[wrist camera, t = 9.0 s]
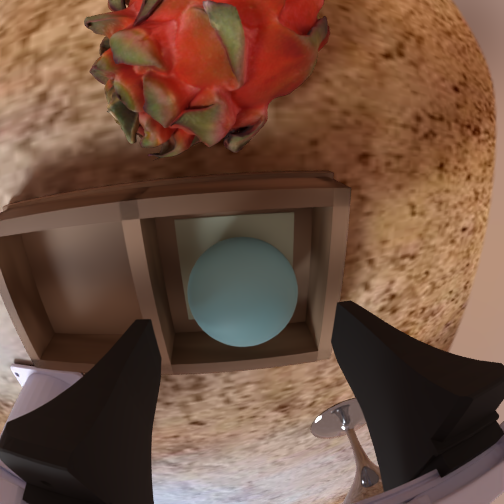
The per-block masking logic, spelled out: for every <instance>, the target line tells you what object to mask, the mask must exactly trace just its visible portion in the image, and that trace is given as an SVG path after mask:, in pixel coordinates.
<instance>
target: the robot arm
mask: <svg viewBox="0 0 504 504" xmlns="http://www.w3.org/2000/svg"><path fill="white" fill-rule="evenodd" d="M331 344H332V347H333V350H334V353H335V356H336V359H337V361H338V364H339V366H340V368H341V370H342V372H343V374H344V376H345V378H346V380H347V381H348V383H349V385H350V387H351V389H352V391H353V393H354V395H355V397H356V399H357V401H358V403H359V405H360V407H361V410H362V412H363V415H364V418H365V421H366V423H367V426H368V429H369V432H370V436H371V439H372V442H373V446H374V449H375V453H376V457H377V461H378V465H379V470H380V475H381V480H382V485H383V491H384V492H383V493H381V494H378V495H375V496H373V497H370V498H367V499H364V500H361V501H358V502H355V503H351V504H490V503H492V501H494V500H495V499H496V498H497V497H499V496H500V495H501V494H502V493H503V492H504V421H503V422H502V423H501V424H500V425H499V424H498V423H497V421H496V420H497V419H498V418H499V415H498V413H497V412H496V411H495V410H496V409H497V408H498V406H499V405H500V404H501V402H502V401H503V399H504V365H503V364H501V363H495V362H487V361H479V360H475V359H471V358H466V357H462V356H458V355H455V354H452V353H449V352H446V351H443V350H440V349H437V348H435V347H432V346H430V345H428V344H425V343H423V342H421V341H419V340H417V339H415V338H413V337H411V336H409V335H407V334H405V333H403V332H401V331H400V330H398V329H396V328H394V327H393V326H391V325H389V324H388V323H386V322H385V321H383V320H381V319H380V318H378V317H377V316H375V315H373V314H372V313H370V312H369V311H367V310H366V309H364V308H363V307H361V306H359V305H358V304H356V303H354V302H352V301H344V302H337V305H336V312H335V319H334V325H333V332H332V338H331ZM161 361H162V358H161V354H160V351H159V347H158V344H157V340H156V337H155V333H154V329H153V325H152V321H151V319H136V320H135V321H134V322H133V323H132V325H131V326H130V327H129V328H128V329H127V330H126V331H125V333H124V334H123V335H122V336H121V337H120V338H119V340H118V341H117V342H116V343H115V344H114V345H113V346H112V348H111V349H110V350H109V351H108V352H107V353H106V354H105V355H104V356H103V357H102V358H101V359H100V360H99V361H98V362H97V363H96V364H95V366H94V367H93V368H92V369H90V370H89V371H88V372H87V373H86V374H85V375H84V376H83V375H82V374H81V373H80V372H70V371H59V370H50V369H41V368H36V367H34V366H26V365H19V364H12V365H11V370H12V372H13V373H14V375H15V377H16V378H17V380H18V381H19V383H20V384H21V386H22V387H23V388H22V390H21V392H20V394H19V396H18V398H17V400H16V402H15V404H14V406H13V408H12V410H11V412H10V415H9V417H8V419H7V421H6V424H5V426H4V428H3V431H2V433H1V435H0V504H154V501H153V489H152V470H151V442H152V428H153V421H154V415H155V409H156V403H157V398H158V392H159V386H160V380H161Z"/></svg>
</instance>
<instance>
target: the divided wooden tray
mask: <svg viewBox="0 0 504 504" xmlns="http://www.w3.org/2000/svg"><path fill="white" fill-rule="evenodd" d="M333 175H334V173H333V172H330V171H283V172H253V173H233V174H216V175H202V176H190V177H179V178H168V179H158V180H149V181H141V182H133V183H125V184H117V185H110V186H103V187H96V188H90V189H84V190H78V191H72V192H66V193H60V194H55V195H50V196H45V197H40V198H35V199H30V200H25V201H20V202H16V203H12V204H8V205H6V206H4V207H3V212H1V213H0V294H1V296H2V299H3V301H4V304H5V306H6V309H7V311H8V313H9V316H10V318H11V320H12V322H13V324H14V327H15V329H16V331H17V333H18V335H19V337H20V339H21V341H22V343H23V345H24V347H25V349H26V351H27V353H28V355H29V356H30V358H31V360H32V362H33V364H34V365H35V367H36V368H41V369H50V370H59V371H70V372H82V373H87V372H88V371H89V370H90V369H92V368H93V367H94V366H95V364H96V363H97V362H98V361H99V360H100V359H101V358H102V357H103V356H104V355H105V354H106V353H107V352H108V351H109V350H110V349H111V348H112V346H113V345H114V344H115V343H116V342H117V341H118V340H119V338H120V337H121V336H122V335H123V334H124V333H125V331H126V330H127V329H128V328H129V327H130V326H131V325H132V323H133V322H134V321H135V320H136V319H151V321H152V325H153V329H154V333H155V337H156V340H157V344H158V347H159V351H160V354H161V358H162V361H161V375H179V374H203V373H219V372H232V371H244V370H254V369H263V368H272V367H280V366H287V365H295V364H302V363H308V362H314V361H320V360H326V359H330V357H331V351H332V344H331V338H332V332H333V325H334V319H335V312H336V305H337V302H340V296H341V289H342V282H343V274H344V265H345V256H346V247H347V237H348V226H349V213H350V199H351V188H350V187H348V186H346V185H344V184H342V183H340V182H338V181H336V180H334V179H333ZM234 237H251V238H256V239H260V240H262V241H265V242H267V243H269V244H271V245H272V246H274V247H275V248H277V249H278V250H279V251H280V252H281V253H282V254H283V255H284V256H285V257H286V259H287V260H288V261H289V263H290V265H291V266H292V268H293V270H294V273H295V276H296V280H297V285H298V298H297V304H296V308H295V311H294V313H293V316H292V318H291V319H290V321H289V322H288V324H287V325H286V326H285V328H284V329H283V330H282V331H281V332H280V333H279V334H278V335H276V336H275V337H273V338H272V339H270V340H268V341H266V342H264V343H261V344H258V345H254V346H248V347H237V346H231V345H227V344H224V343H221V342H219V341H217V340H215V339H214V338H212V337H211V336H209V335H208V334H207V333H206V332H205V331H203V330H202V328H201V327H200V326H199V325H198V323H197V322H196V320H195V319H194V317H193V315H192V312H191V310H190V307H189V303H188V294H187V289H188V281H189V277H190V274H191V271H192V269H193V267H194V265H195V263H196V261H197V260H198V259H199V257H200V256H201V255H202V254H203V253H204V252H205V251H206V250H207V249H209V248H210V247H211V246H213V245H214V244H216V243H218V242H220V241H223V240H225V239H229V238H234Z"/></svg>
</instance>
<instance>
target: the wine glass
mask: <svg viewBox="0 0 504 504" xmlns="http://www.w3.org/2000/svg"><path fill="white" fill-rule="evenodd" d="M365 424H367V423H366V421H365V418H364V415H363V412H362V410H361V407H360V405H359V403H358V401H357V399H356V398H354V399H350V400H347V401H344V402H341V403H339V404H337V405H335V406H333V407H331V408H329V409H328V410H326V411H324V412H323V413H322V414H321V415H319V416H318V417H317V418H316V419H315V421H314V422H313V423H312V426H311V433H312V434H313V435H314V436H316V437H318V438H322V439H331V438H337V437H341V436H344V435H347V436H348V438H349V440H350V443H351V446H352V449H353V453H354V457H355V462H356V475H355V478H354V481H353V484H352V486H351V488H350V490H349V492H348V494H347V496H346V498H345V500H344V501H343V503H342V504H351V503H355V502H358V501H361V500H364V499H367V498H370V497H373V496H375V495H378V494H381V493H383V492H384V491H383V485H382V480H381V475H380V470H379V467H378V466H376V465H375V464H374V463H372V462H371V461H370V459H369V458H368V456H367V455H366V453H365V452H364V450H363V448H362V447H361V445H360V443H359V441H358V438H357V436H356V434H355V431H356V430H358V429H360V428H361V427H363V426H364V425H365Z"/></svg>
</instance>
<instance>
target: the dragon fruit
mask: <svg viewBox="0 0 504 504" xmlns="http://www.w3.org/2000/svg"><path fill="white" fill-rule="evenodd" d="M125 4H126V5H128V8H126V5H125ZM323 4H324V0H108V7H109V9H110V10H111V11H113V12H109V13H104V14H99V15H95V16H91V17H86V18H85V21H84V24H85V26H86V27H87V28H89V29H91V30H92V31H93V32H94V33H96V34H101V35H104V36H106V37H105V38H104V39H103V40H102V43H101V44H100V56H101V57H100V58H98V59H97V60H96V62H95V63H94V64H93V66H92V68H91V70H90V73H91V74H92V75H93V76H94V77H95V78H96V79H97V80H98V81H99V82H101V83H102V84H105V94H106V98H107V102H108V105H107V108H108V110H110V111H107V112H109V113H111V114H112V115H113V116H114V119H115V121H116V123H117V124H119V125H121V129H122V130H123V131H124V133H125V135H126V138H127V140H128V142H130V143H131V144H132V143H135V142H136V134H137V135H139V137H140V138H141V141H140V145H141V147H146V148H153V147H157V146H159V145H161V144H162V148H161V151H160V153H154V154H148V156H150V155H152V156H157V157H159V158H162V157H169V156H175V155H178V154H180V153H182V152H183V151H185V150H187V149H188V148H189V147H191V146H192V145H194V144H196V143H198V142H203V143H204V144H205V145H207V146H208V147H211V146H213V145H214V144H216V143H218V142H219V141H220V140H221V139H222V138H223V137H225V138H224V146H225V147H226V148H227V149H229V150H230V151H232V152H238V151H240V150H241V149H242V148H243V147H244V145H246V144H247V143H248V142H249V141H250V140H251V138H252V137H253V136H254V135H255V134H256V133H257V132H258V131H259V130H260V129H261V128H262V127H263V126H264V124H265V122H266V121H267V117H268V116H267V109H268V105H269V103H270V102H271V101H272V100H273V99H274V98H277V97H279V96H285V95H288V94H290V93H291V92H292V91H293V90H295V89H296V88H297V87H299V86H300V85H301V84H302V83H303V82H304V81H305V80H306V79H307V78H308V77H309V76H310V75H311V73H312V72H313V69H314V67H315V64H316V62H317V58H318V51H319V50H320V49H321V48H322V47H323V46H324V45H325V44H326V43H327V42H328V38H329V35H330V31H329V26H328V25H327V18H326V17H325V16H324V17H323V18H322V19H319V10H320V9H321V8H322V6H323ZM238 131H239V132H238ZM157 159H158V158H157ZM155 160H156V159H155Z"/></svg>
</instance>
